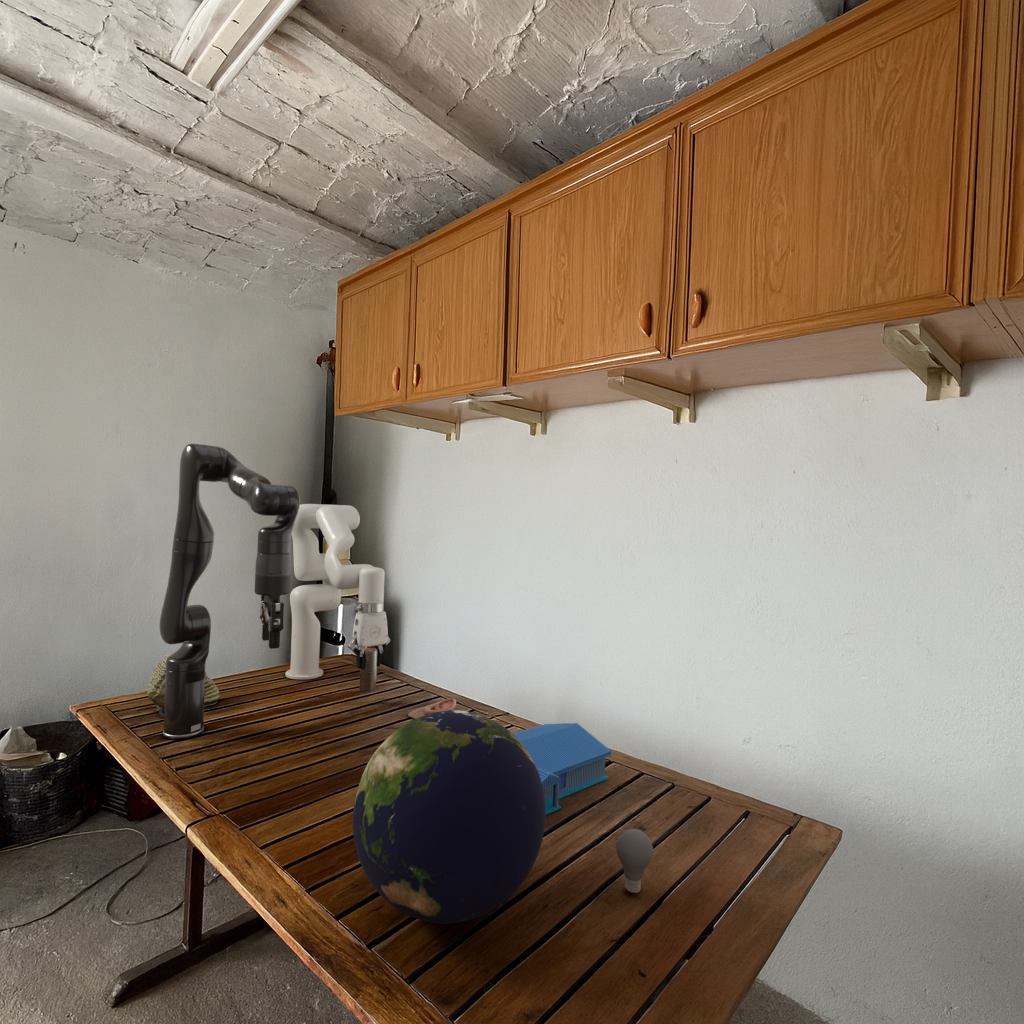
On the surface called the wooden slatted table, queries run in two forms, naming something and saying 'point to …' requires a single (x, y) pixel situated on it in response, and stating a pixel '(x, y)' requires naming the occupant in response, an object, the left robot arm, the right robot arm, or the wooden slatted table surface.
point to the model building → (564, 759)
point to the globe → (449, 817)
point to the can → (369, 670)
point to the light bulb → (634, 857)
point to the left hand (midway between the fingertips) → (270, 644)
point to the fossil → (158, 687)
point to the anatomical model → (434, 708)
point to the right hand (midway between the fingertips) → (368, 666)
